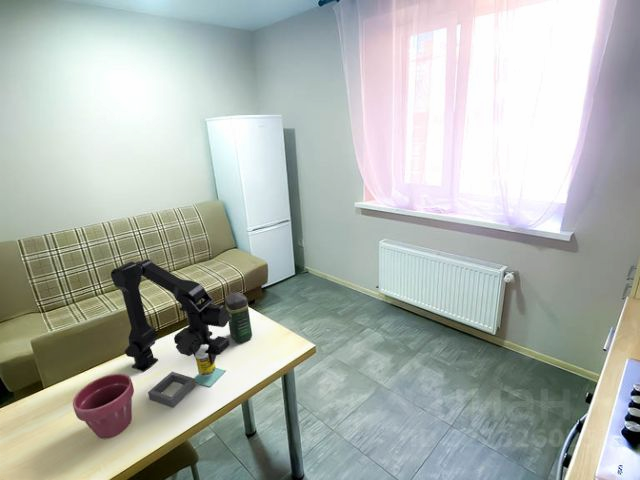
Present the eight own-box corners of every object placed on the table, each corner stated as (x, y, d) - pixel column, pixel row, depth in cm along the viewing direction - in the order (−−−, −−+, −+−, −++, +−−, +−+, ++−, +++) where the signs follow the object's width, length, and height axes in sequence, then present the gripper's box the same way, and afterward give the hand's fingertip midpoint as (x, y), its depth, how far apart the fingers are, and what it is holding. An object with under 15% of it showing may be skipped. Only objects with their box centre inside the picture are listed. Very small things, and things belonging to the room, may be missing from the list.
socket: (149, 399, 107) (147, 392, 106) (173, 378, 115) (172, 371, 114) (173, 408, 103) (171, 400, 102) (196, 385, 111) (194, 378, 110)
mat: (191, 381, 113) (191, 380, 113) (207, 366, 120) (207, 365, 120) (210, 387, 110) (210, 386, 110) (225, 371, 117) (225, 370, 117)
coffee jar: (255, 338, 134) (249, 297, 128) (236, 346, 130) (229, 304, 124) (246, 327, 142) (240, 288, 136) (228, 334, 138) (221, 294, 132)
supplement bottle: (201, 379, 111) (196, 354, 108) (197, 370, 115) (191, 345, 112) (218, 372, 114) (213, 347, 110) (213, 363, 118) (208, 339, 115)
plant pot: (118, 401, 107) (108, 368, 103) (152, 412, 102) (142, 378, 98) (73, 439, 94) (59, 403, 90) (109, 454, 89) (95, 417, 85)
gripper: (156, 330, 105) (166, 370, 110) (203, 342, 98) (211, 385, 103) (182, 312, 114) (191, 350, 120) (227, 322, 107) (233, 362, 112)
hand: (205, 361), depth 113 cm, fingers closed on supplement bottle, 5 cm apart
